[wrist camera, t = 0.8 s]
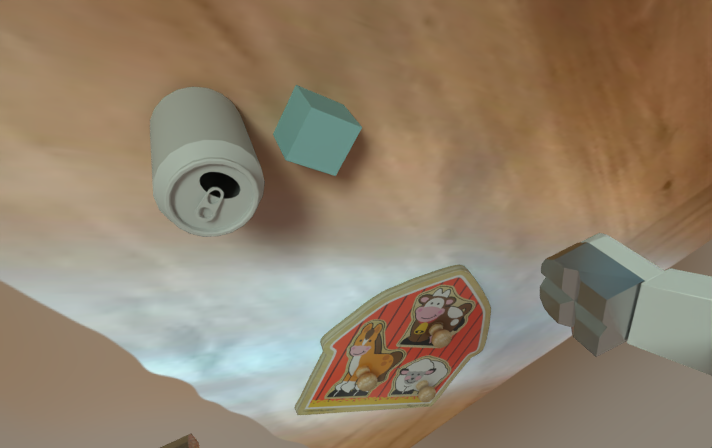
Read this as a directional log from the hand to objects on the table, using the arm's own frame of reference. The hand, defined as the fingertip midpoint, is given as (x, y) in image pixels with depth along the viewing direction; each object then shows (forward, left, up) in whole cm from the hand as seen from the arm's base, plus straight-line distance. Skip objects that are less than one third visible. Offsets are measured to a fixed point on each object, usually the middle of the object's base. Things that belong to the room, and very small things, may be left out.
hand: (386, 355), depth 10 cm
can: (+10, +3, -35) cm, 36 cm away
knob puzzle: (+32, +42, -35) cm, 63 cm away
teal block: (+6, +12, -34) cm, 37 cm away
